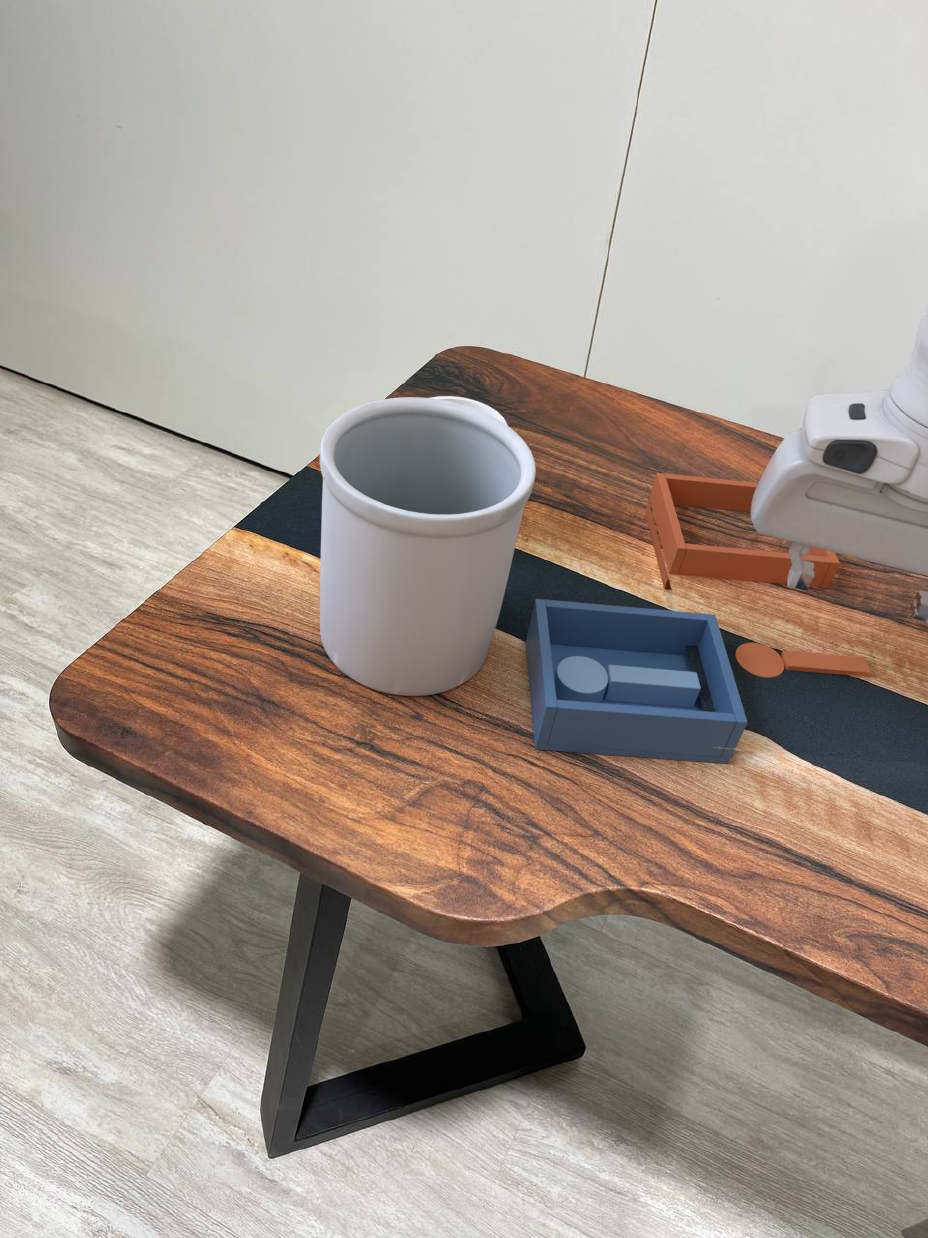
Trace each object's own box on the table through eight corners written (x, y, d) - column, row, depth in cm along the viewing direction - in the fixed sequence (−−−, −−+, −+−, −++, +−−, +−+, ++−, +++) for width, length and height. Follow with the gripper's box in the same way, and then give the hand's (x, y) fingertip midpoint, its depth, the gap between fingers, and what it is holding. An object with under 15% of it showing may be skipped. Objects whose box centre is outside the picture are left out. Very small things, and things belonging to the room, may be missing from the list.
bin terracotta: (788, 525, 100) (805, 487, 97) (821, 602, 91) (840, 563, 88) (644, 511, 99) (656, 472, 96) (664, 588, 90) (677, 547, 87)
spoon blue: (686, 681, 80) (694, 661, 79) (695, 718, 78) (704, 699, 76) (550, 670, 79) (555, 649, 78) (554, 707, 76) (560, 686, 75)
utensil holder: (517, 699, 77) (561, 514, 66) (322, 711, 74) (332, 517, 62) (477, 575, 88) (509, 397, 76) (304, 580, 85) (310, 394, 73)
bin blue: (699, 655, 84) (715, 614, 81) (728, 764, 75) (747, 722, 72) (525, 640, 83) (535, 598, 79) (534, 749, 74) (546, 706, 71)
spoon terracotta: (850, 666, 85) (860, 648, 84) (865, 701, 82) (876, 682, 81) (724, 656, 84) (732, 636, 83) (734, 690, 81) (743, 671, 80)
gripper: (1084, 460, 70) (989, 610, 79) (789, 390, 72) (730, 544, 81) (1105, 510, 65) (1001, 663, 74) (788, 433, 67) (726, 591, 76)
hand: (857, 600), depth 78 cm, fingers open, 8 cm apart
